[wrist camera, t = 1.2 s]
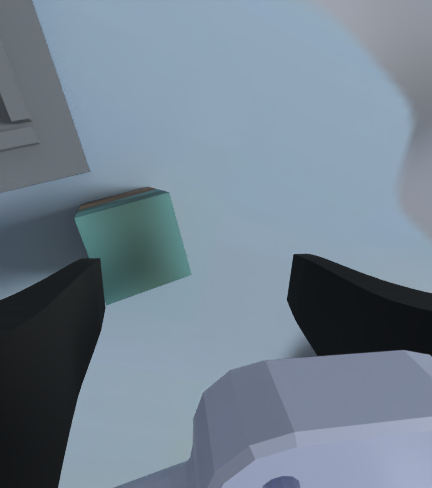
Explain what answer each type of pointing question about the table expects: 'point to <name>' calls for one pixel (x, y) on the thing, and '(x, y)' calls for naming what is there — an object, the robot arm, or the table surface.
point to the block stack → (133, 241)
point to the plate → (32, 106)
